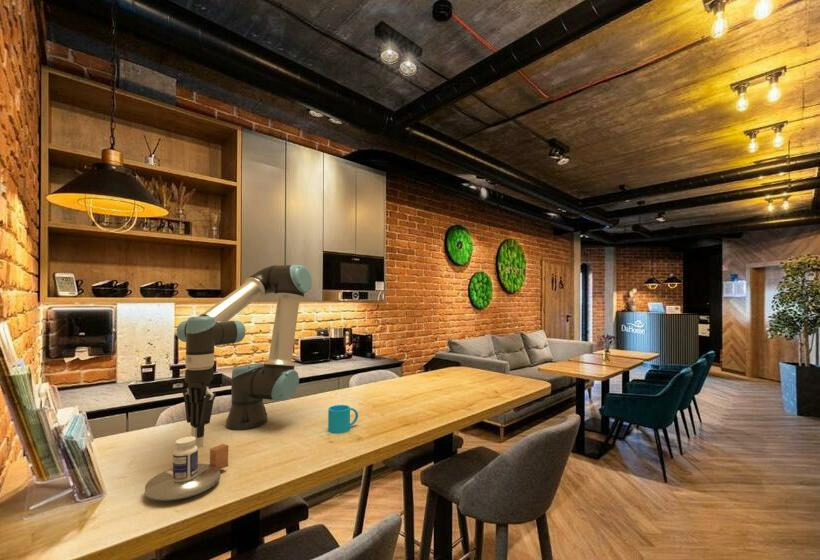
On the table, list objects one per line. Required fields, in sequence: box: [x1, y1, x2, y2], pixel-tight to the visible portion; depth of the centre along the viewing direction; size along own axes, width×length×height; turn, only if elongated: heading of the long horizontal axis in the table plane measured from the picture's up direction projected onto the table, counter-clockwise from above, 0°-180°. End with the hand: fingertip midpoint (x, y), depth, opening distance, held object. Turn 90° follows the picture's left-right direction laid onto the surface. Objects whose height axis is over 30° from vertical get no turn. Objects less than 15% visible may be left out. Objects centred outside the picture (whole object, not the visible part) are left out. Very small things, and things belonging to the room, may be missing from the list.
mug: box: [327, 404, 359, 434], centre depth 143 cm, size 12×8×8 cm
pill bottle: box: [172, 435, 199, 482], centre depth 99 cm, size 6×6×10 cm
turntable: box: [144, 443, 229, 502], centre depth 100 cm, size 17×20×6 cm
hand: (197, 447), depth 111 cm, fingers closed
